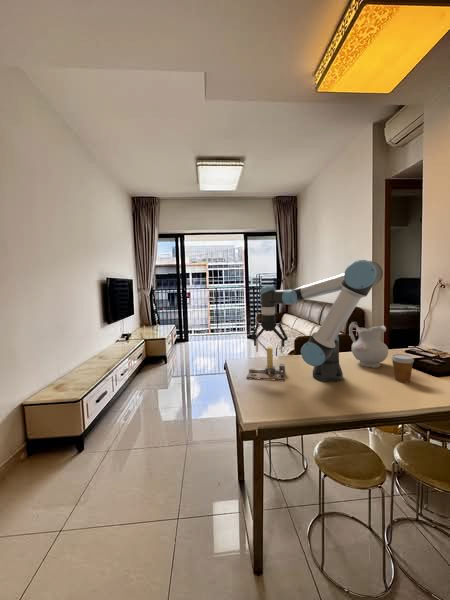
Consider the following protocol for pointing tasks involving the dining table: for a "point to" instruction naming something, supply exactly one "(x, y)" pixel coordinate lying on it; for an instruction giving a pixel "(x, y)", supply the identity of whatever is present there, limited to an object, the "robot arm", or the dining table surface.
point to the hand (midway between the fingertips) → (269, 352)
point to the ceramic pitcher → (368, 345)
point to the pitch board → (262, 373)
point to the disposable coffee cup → (402, 367)
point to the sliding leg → (270, 361)
